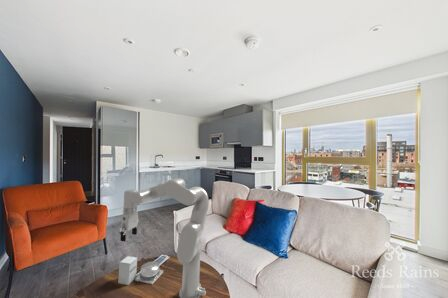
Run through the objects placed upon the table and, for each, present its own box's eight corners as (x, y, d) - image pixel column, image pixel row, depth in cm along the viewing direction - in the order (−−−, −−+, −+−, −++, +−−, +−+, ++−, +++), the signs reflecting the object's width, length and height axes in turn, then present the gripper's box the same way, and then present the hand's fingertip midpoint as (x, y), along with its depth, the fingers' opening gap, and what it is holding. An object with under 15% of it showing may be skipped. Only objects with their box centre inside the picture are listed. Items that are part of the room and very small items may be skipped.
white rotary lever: (163, 272, 124) (163, 262, 124) (152, 284, 112) (152, 273, 112) (147, 269, 126) (147, 259, 126) (135, 280, 115) (135, 270, 115)
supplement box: (128, 285, 110) (129, 263, 111) (117, 283, 112) (118, 262, 112) (136, 277, 118) (137, 257, 118) (126, 275, 119) (127, 255, 119)
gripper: (124, 214, 107) (123, 244, 106) (144, 206, 124) (143, 232, 123) (114, 213, 109) (112, 243, 108) (134, 205, 125) (133, 231, 125)
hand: (128, 237), depth 116 cm, fingers open, 9 cm apart
